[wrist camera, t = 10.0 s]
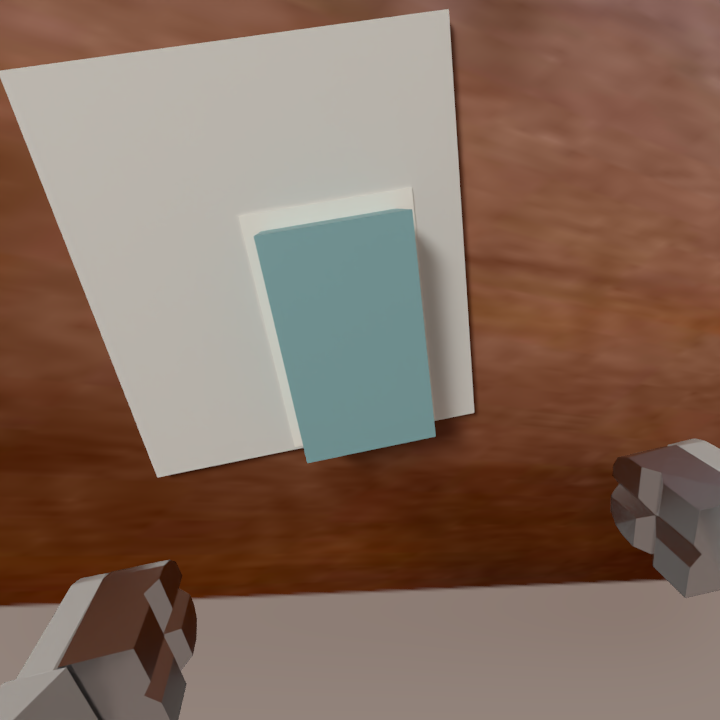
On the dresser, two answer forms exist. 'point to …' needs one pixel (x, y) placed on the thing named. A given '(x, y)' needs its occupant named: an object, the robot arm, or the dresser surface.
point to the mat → (244, 208)
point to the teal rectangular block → (350, 330)
